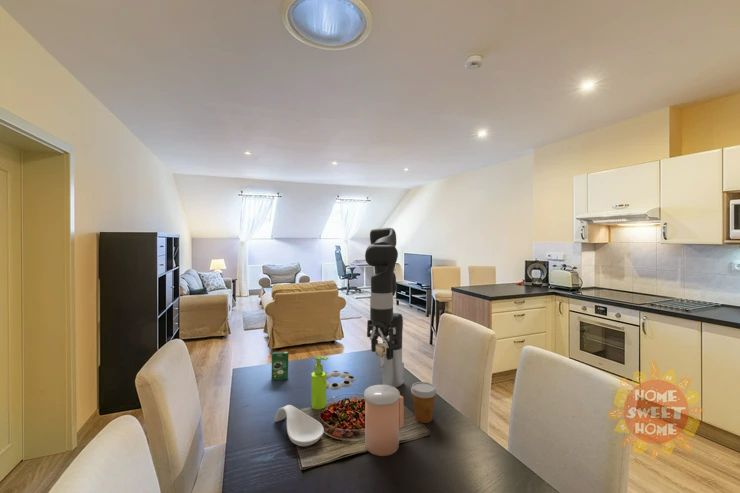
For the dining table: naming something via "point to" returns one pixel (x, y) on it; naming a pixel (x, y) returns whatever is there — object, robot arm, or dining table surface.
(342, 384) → the paint palette
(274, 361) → the coffee box
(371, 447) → the press pot
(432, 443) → the dining table surface
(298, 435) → the spoon rest
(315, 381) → the soap dispenser
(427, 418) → the disposable coffee cup
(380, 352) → the plunger
